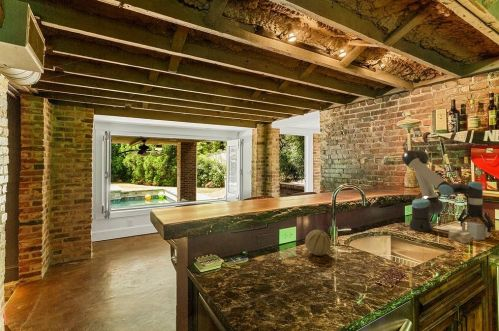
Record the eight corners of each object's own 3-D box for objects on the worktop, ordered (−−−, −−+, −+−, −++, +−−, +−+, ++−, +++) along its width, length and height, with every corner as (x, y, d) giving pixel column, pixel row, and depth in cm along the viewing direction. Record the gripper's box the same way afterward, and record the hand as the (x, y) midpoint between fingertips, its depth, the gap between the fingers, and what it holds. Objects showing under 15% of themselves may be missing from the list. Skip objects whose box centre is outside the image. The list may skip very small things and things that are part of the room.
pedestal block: (448, 239, 173) (448, 231, 172) (455, 237, 176) (455, 229, 176) (464, 243, 164) (464, 234, 164) (471, 241, 168) (471, 233, 168)
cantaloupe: (303, 249, 157) (303, 226, 156) (327, 249, 156) (327, 226, 155) (307, 259, 142) (307, 233, 141) (333, 259, 141) (333, 233, 141)
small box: (484, 239, 171) (485, 224, 171) (476, 239, 171) (476, 224, 171) (474, 236, 179) (474, 221, 179) (466, 236, 179) (466, 221, 179)
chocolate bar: (373, 284, 115) (373, 280, 115) (388, 271, 128) (388, 267, 128) (390, 290, 110) (390, 285, 110) (404, 276, 122) (404, 272, 122)
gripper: (451, 201, 185) (451, 230, 185) (495, 207, 162) (495, 239, 162) (457, 200, 188) (457, 228, 188) (501, 206, 165) (501, 238, 165)
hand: (474, 234), depth 175 cm, fingers open, 13 cm apart
